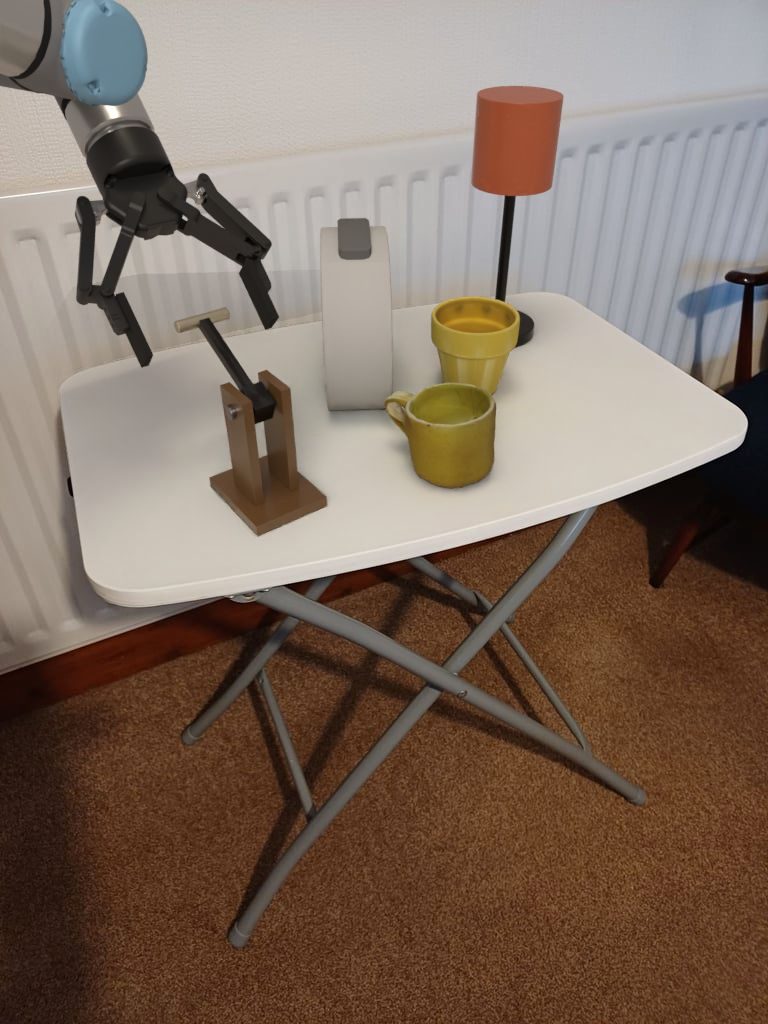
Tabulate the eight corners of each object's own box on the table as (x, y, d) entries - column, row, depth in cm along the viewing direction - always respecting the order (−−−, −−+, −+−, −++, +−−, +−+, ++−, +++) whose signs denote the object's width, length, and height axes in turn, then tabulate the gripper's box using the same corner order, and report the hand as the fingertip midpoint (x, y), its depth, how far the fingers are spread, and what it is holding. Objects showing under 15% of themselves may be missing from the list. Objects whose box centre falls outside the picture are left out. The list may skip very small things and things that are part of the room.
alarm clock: (328, 344, 107) (320, 194, 95) (382, 343, 107) (382, 193, 95) (327, 428, 90) (318, 260, 78) (392, 426, 91) (393, 258, 78)
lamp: (466, 349, 106) (484, 104, 87) (456, 317, 114) (471, 86, 95) (539, 347, 106) (573, 103, 88) (525, 316, 114) (552, 85, 95)
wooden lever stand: (210, 486, 82) (191, 377, 74) (276, 460, 85) (265, 354, 77) (257, 536, 76) (242, 423, 68) (327, 506, 79) (320, 395, 71)
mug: (530, 449, 84) (505, 375, 77) (470, 514, 80) (440, 442, 74) (447, 424, 92) (419, 355, 86) (390, 481, 88) (356, 414, 82)
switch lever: (173, 331, 77) (173, 314, 75) (223, 317, 79) (225, 300, 77) (236, 431, 73) (239, 416, 71) (287, 412, 75) (291, 397, 73)
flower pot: (455, 416, 93) (461, 340, 86) (413, 378, 100) (415, 305, 94) (528, 396, 96) (538, 321, 90) (482, 360, 103) (488, 289, 97)
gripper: (225, 149, 86) (306, 324, 86) (-10, 191, 75) (85, 393, 75) (242, 104, 80) (331, 293, 80) (-12, 143, 68) (92, 364, 68)
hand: (212, 342), depth 77 cm, fingers open, 13 cm apart
